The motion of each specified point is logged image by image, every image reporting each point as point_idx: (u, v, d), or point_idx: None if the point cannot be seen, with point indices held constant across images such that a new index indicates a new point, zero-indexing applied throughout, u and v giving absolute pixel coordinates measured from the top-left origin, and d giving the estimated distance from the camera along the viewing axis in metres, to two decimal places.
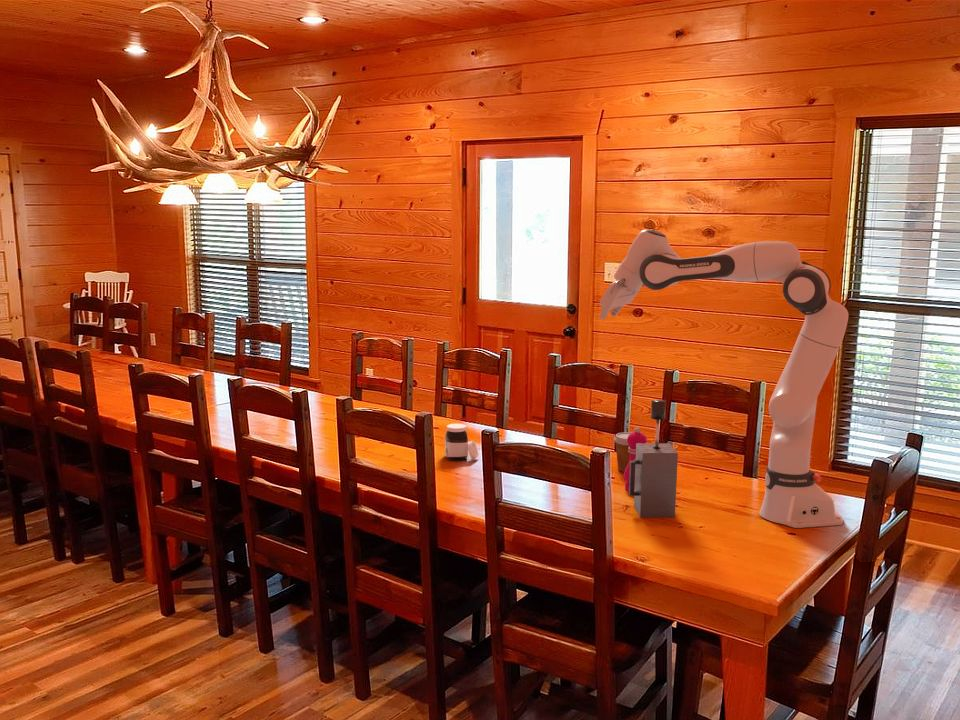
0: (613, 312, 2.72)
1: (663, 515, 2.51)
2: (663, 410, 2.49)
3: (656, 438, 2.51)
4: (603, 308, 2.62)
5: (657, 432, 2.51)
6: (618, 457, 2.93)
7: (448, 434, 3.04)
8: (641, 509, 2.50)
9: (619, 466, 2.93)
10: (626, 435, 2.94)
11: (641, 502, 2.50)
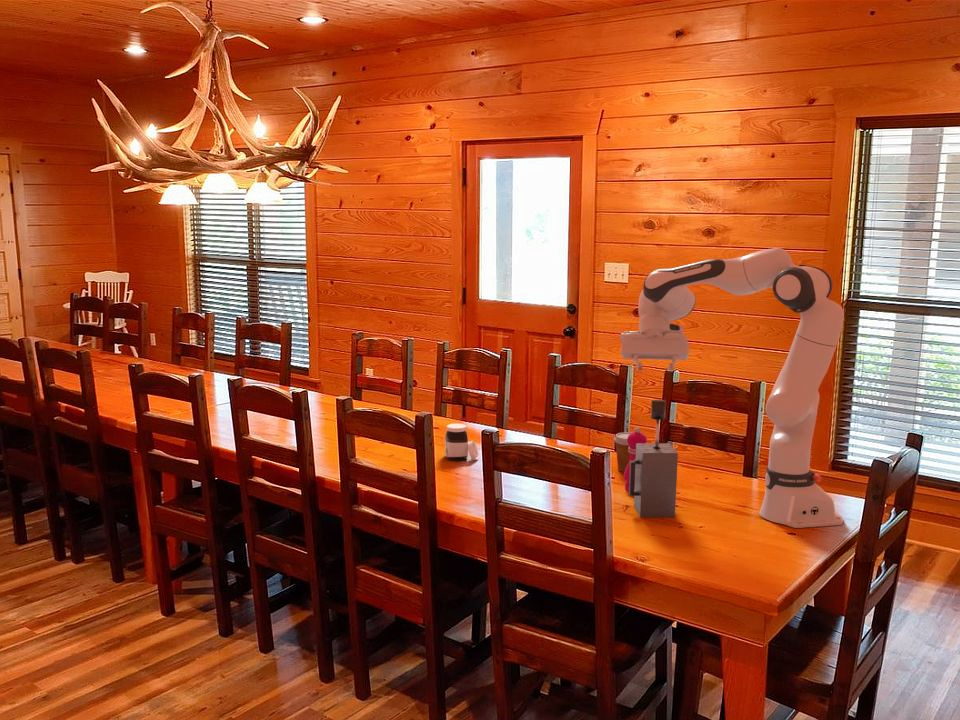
0: (669, 366, 2.61)
1: (663, 515, 2.51)
2: (663, 410, 2.49)
3: (656, 438, 2.51)
4: (633, 360, 2.64)
5: (657, 432, 2.51)
6: (618, 457, 2.93)
7: (448, 434, 3.04)
8: (641, 509, 2.50)
9: (619, 466, 2.93)
10: (626, 435, 2.94)
11: (641, 502, 2.50)
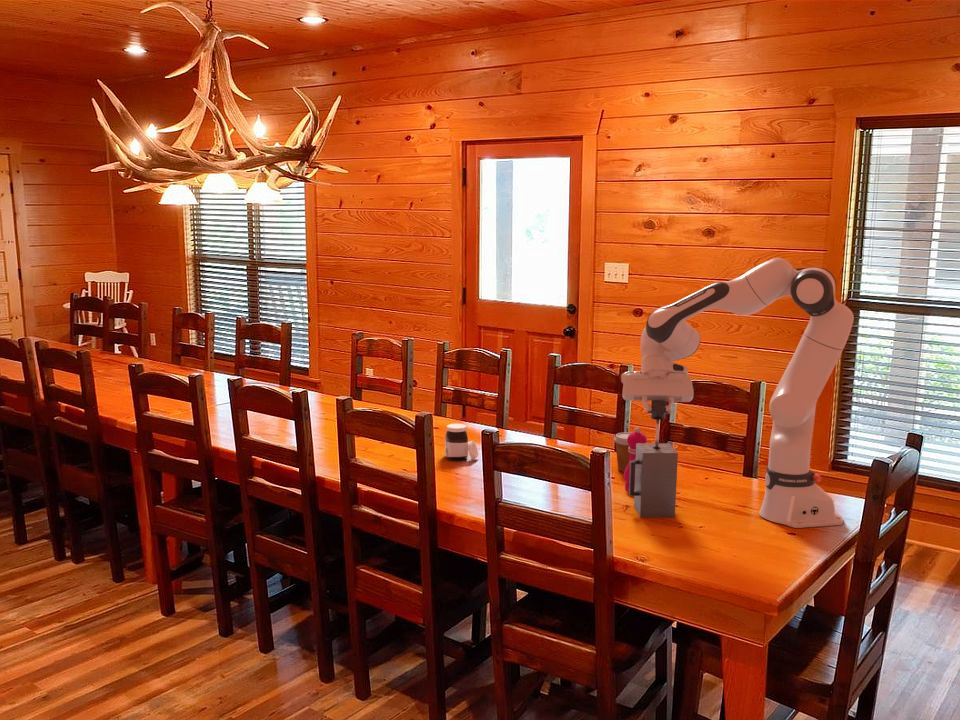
0: None
1: (663, 515, 2.51)
2: (663, 410, 2.49)
3: (656, 438, 2.51)
4: (642, 402, 2.53)
5: (657, 432, 2.51)
6: (618, 457, 2.93)
7: (448, 434, 3.04)
8: (641, 509, 2.50)
9: (619, 466, 2.93)
10: (626, 435, 2.94)
11: (641, 502, 2.50)
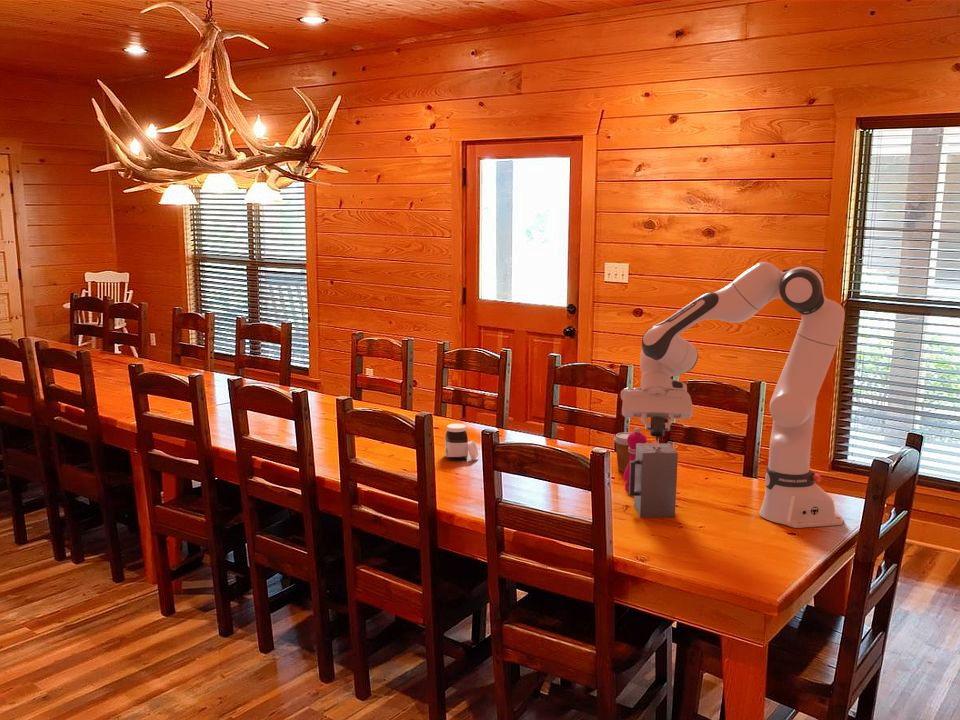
0: None
1: (663, 515, 2.51)
2: (663, 427, 2.50)
3: None
4: (641, 419, 2.53)
5: None
6: (618, 457, 2.93)
7: (448, 434, 3.04)
8: (641, 509, 2.50)
9: (619, 466, 2.93)
10: (626, 435, 2.94)
11: (641, 502, 2.50)
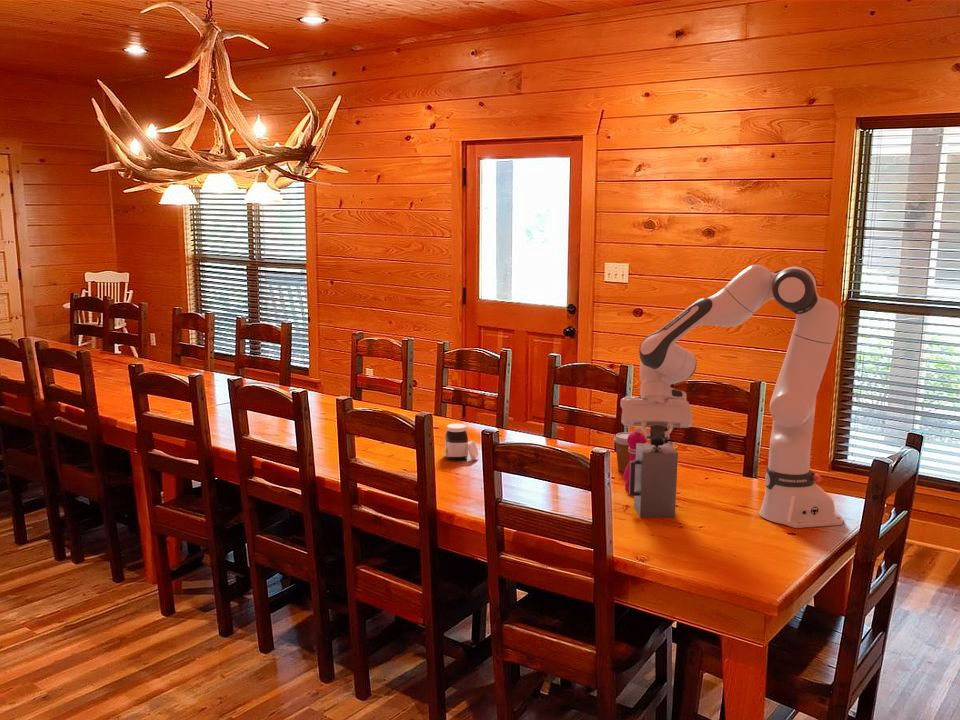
0: (664, 435, 2.52)
1: (663, 515, 2.51)
2: (662, 436, 2.50)
3: None
4: (641, 428, 2.54)
5: None
6: (618, 457, 2.93)
7: (448, 434, 3.04)
8: (641, 509, 2.50)
9: (619, 466, 2.93)
10: (626, 435, 2.94)
11: (641, 502, 2.50)
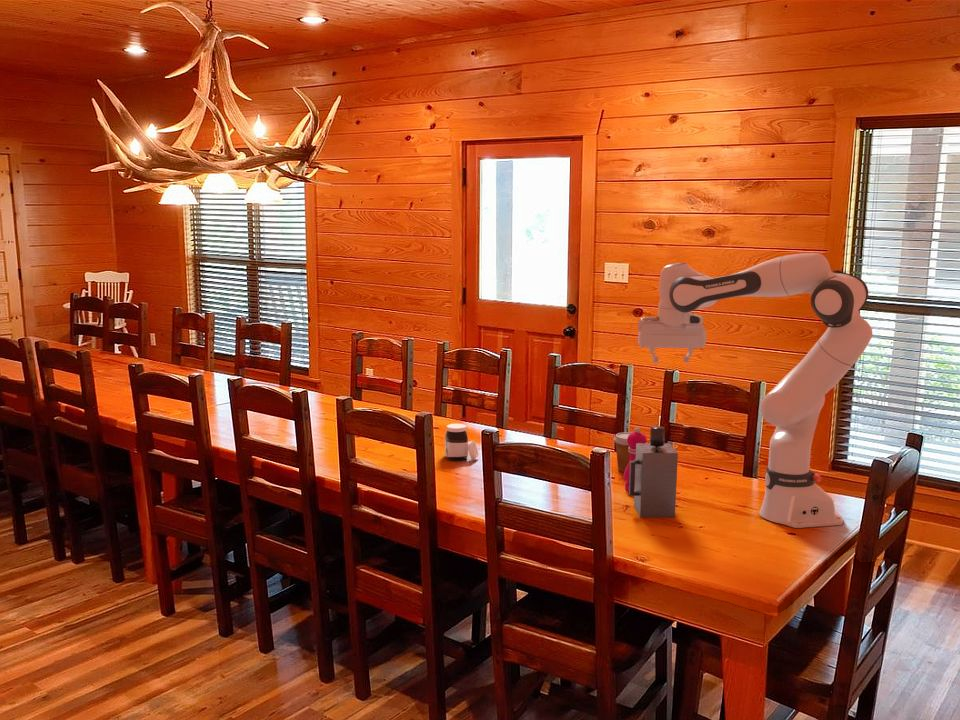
0: (684, 358, 2.66)
1: (663, 515, 2.51)
2: (662, 437, 2.50)
3: None
4: (649, 350, 2.66)
5: None
6: (618, 457, 2.93)
7: (448, 434, 3.04)
8: (641, 509, 2.50)
9: (619, 466, 2.93)
10: (626, 435, 2.94)
11: (641, 502, 2.50)
